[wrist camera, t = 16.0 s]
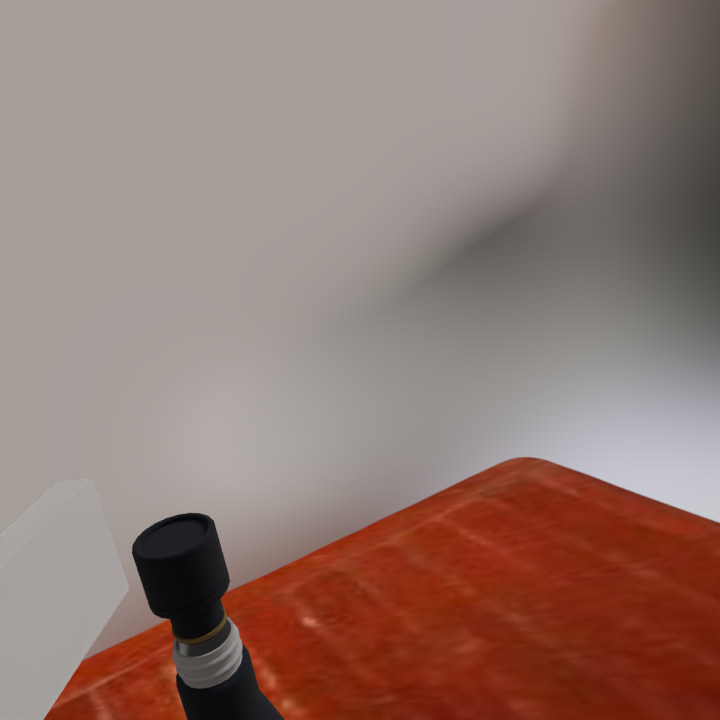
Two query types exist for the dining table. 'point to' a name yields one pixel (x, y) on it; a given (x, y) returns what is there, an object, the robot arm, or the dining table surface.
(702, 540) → the dining table surface
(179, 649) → the black metal bottle
